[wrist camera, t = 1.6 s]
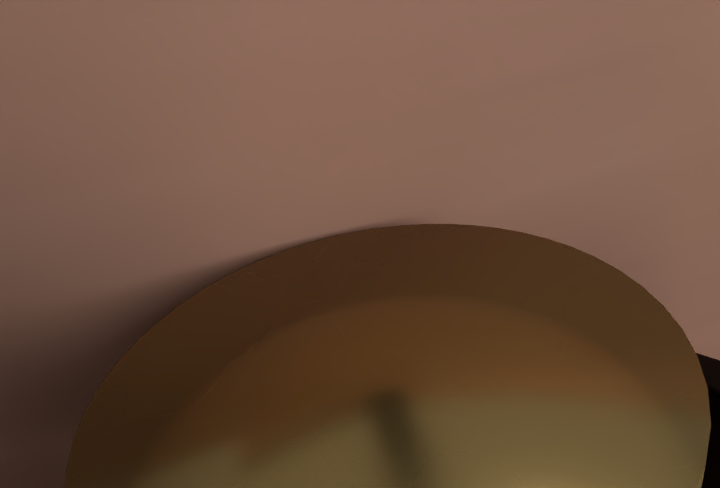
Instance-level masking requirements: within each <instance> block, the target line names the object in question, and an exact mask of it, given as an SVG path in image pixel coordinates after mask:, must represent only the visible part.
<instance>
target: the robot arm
mask: <svg viewBox="0 0 720 488" xmlns="http://www.w3.org/2000/svg"><path fill="white" fill-rule="evenodd" d="M696 355H697V356H698V359H699V362H700V366H701V369H702V372H703V375H704V378H705V381H706V384H707V388H708V396H709V407H710V418H711V429H710V437H709V444H708V451H707V458H706V465H705V471H704V476H703V482H702V487H701V488H720V361H719V360H716V359H713V358H710V357H707V356H704V355H701V354H698V353H696Z"/></svg>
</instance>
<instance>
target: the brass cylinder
mask: <svg viewBox="0 0 720 488" xmlns="http://www.w3.org/2000/svg"><path fill="white" fill-rule="evenodd" d="M710 429H711V418H710V407H709V396H708V388H707V384H706V381H705V378H704V375H703V372H702V369H701V366H700V362H699V359H698V356H697V355H696V353H695V351H694V349H693V347H692V346H691V344H690V342H689V340H688V338H687V337H686V335H685V333H684V331H683V329H682V328H681V327H680V326H679V324H678V323H677V322H676V321H675V319H674V318H673V317H672V316H671V314H670V313H669V312H668V311H667V310H666V308H665V307H664V306H663V305H662V304H661V303H660V302H659V301H658V300H657V299H655V298H654V297H653V296H652V295H651V294H650V293H649V292H648V291H647V290H646V289H645V288H643V287H642V286H641V285H640V284H638V283H637V282H635V281H634V280H632V279H631V278H630V277H628V276H627V275H625V274H624V273H622V272H621V271H620V270H618V269H616V268H614V267H612V266H611V265H609V264H607V263H605V262H603V261H602V260H600V259H598V258H596V257H594V256H592V255H589V254H587V253H585V252H582V251H580V250H578V249H575V248H573V247H571V246H568V245H565V244H562V243H558V242H555V241H552V240H549V239H546V238H542V237H538V236H534V235H530V234H526V233H522V232H517V231H511V230H506V229H500V228H493V227H484V226H475V225H457V224H419V225H402V226H393V227H384V228H376V229H369V230H363V231H357V232H352V233H347V234H343V235H338V236H333V237H329V238H325V239H322V240H318V241H314V242H310V243H307V244H304V245H301V246H298V247H295V248H292V249H288V250H286V251H283V252H280V253H278V254H275V255H272V256H270V257H267V258H265V259H262V260H260V261H258V262H255V263H253V264H251V265H249V266H246V267H244V268H242V269H240V270H238V271H236V272H234V273H232V274H230V275H228V276H226V277H224V278H222V279H220V280H219V281H217V282H215V283H214V284H212V285H210V286H209V287H207V288H205V289H203V290H202V291H200V292H198V293H197V294H195V295H194V296H192V297H191V298H189V299H188V300H187V301H185V302H184V303H182V304H181V305H179V306H178V307H176V308H175V309H174V310H173V311H171V312H170V313H169V314H167V315H166V316H165V317H164V318H162V319H161V320H160V321H159V322H157V323H156V324H155V325H154V326H153V327H152V328H151V329H150V330H148V331H147V332H146V333H145V334H144V335H143V336H142V337H141V338H140V339H139V340H138V341H137V342H136V343H135V344H134V345H133V346H132V347H131V348H130V349H129V350H128V351H127V352H126V354H125V355H124V356H123V357H122V358H121V359H120V360H119V361H118V362H117V364H116V365H115V366H114V368H113V369H112V370H111V372H110V373H109V374H108V376H107V377H106V378H105V380H104V381H103V382H102V384H101V385H100V387H99V389H98V390H97V392H96V394H95V395H94V397H93V399H92V401H91V402H90V404H89V406H88V407H87V409H86V411H85V413H84V416H83V418H82V421H81V423H80V425H79V428H78V430H77V433H76V435H75V438H74V441H73V445H72V449H71V453H70V457H69V461H68V466H67V470H66V488H701V487H702V482H703V476H704V471H705V465H706V458H707V451H708V444H709V437H710Z"/></svg>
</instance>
